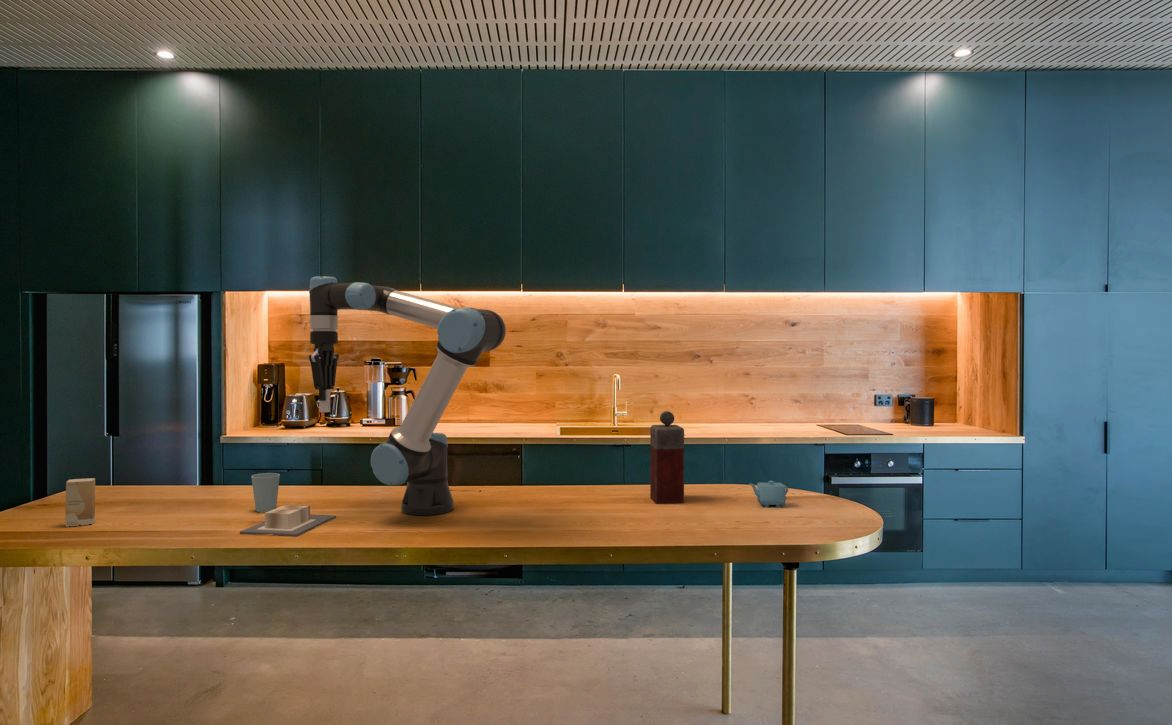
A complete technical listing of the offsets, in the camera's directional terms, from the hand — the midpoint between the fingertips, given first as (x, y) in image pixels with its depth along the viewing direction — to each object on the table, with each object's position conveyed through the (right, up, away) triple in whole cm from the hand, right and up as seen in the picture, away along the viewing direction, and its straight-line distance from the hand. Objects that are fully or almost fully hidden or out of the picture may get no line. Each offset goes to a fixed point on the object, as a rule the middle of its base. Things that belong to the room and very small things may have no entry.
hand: (324, 411), depth 207 cm
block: (-4, -27, -10) cm, 29 cm away
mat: (-4, -30, -14) cm, 33 cm away
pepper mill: (+101, -29, +18) cm, 107 cm away
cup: (-19, -30, +4) cm, 35 cm away
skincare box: (-62, -30, -12) cm, 70 cm away
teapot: (+131, -29, +10) cm, 135 cm away
